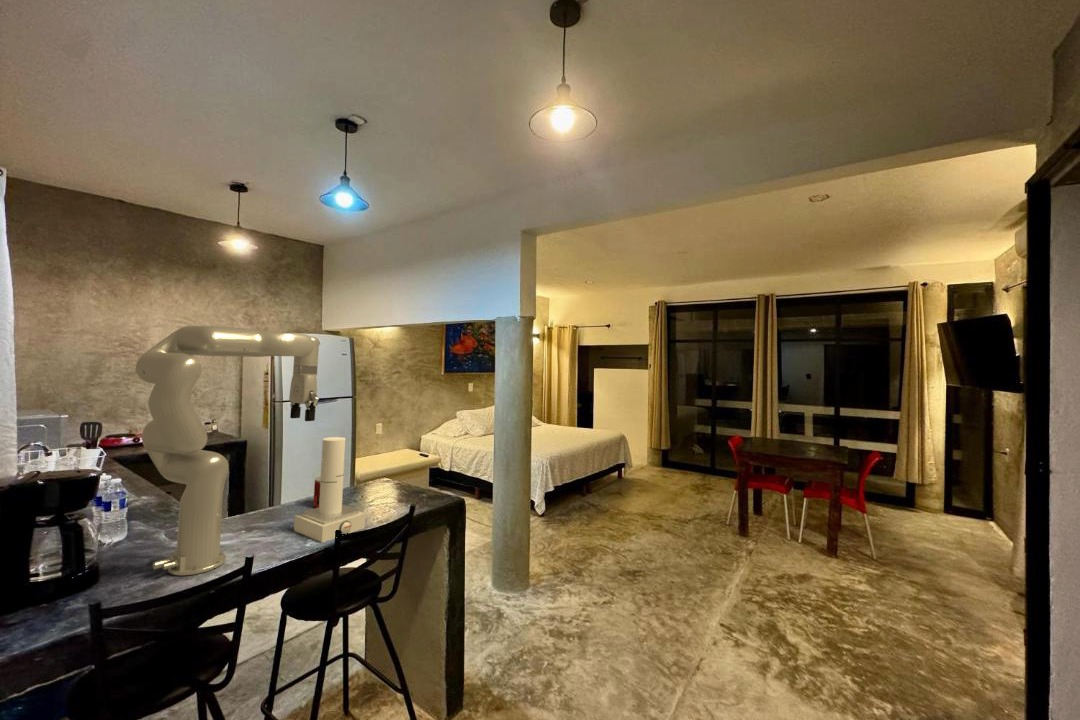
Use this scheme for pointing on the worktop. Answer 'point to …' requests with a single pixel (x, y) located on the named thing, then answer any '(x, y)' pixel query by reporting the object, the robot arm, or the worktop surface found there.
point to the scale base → (328, 526)
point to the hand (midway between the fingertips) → (302, 419)
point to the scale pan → (325, 519)
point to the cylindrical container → (332, 475)
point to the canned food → (317, 492)
